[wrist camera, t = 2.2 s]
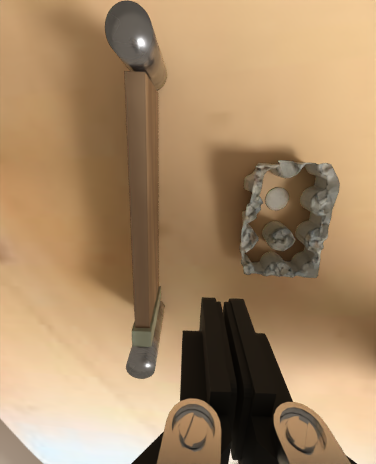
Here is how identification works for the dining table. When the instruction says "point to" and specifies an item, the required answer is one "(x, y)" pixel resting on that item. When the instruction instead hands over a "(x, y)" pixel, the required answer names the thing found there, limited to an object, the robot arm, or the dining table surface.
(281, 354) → the dining table surface
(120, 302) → the dining table surface
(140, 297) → the gate
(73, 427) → the dining table surface
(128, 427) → the dining table surface
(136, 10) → the gate posts
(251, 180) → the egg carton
